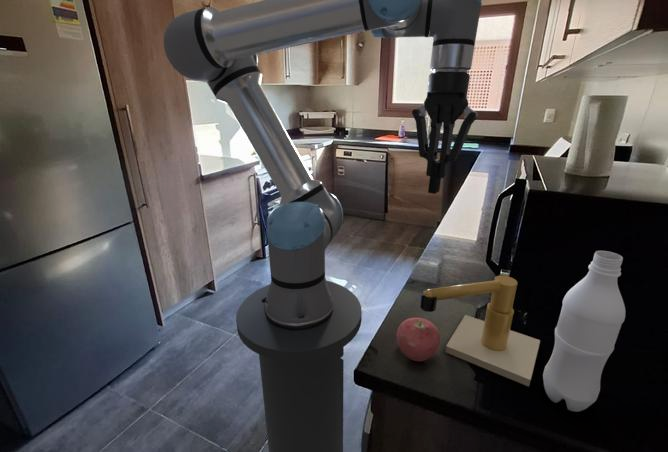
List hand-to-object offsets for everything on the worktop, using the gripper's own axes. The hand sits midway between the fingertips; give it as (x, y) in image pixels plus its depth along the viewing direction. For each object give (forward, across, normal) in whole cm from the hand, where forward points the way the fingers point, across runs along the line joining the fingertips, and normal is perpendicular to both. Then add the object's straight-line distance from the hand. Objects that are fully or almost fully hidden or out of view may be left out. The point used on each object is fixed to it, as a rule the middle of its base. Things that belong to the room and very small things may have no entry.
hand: (433, 191), depth 73 cm
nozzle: (+16, -14, +15) cm, 26 cm away
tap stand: (+26, -19, +10) cm, 33 cm away
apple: (+26, -8, +20) cm, 34 cm away
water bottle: (+25, -31, +15) cm, 43 cm away
